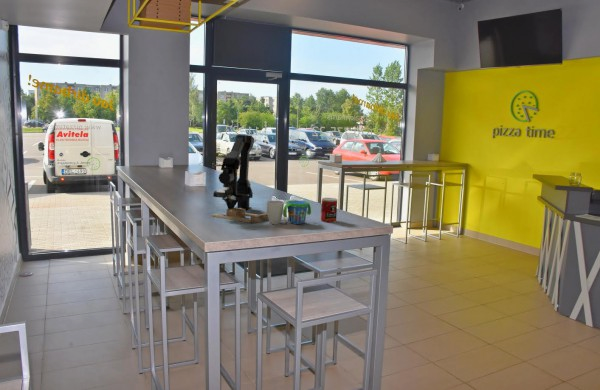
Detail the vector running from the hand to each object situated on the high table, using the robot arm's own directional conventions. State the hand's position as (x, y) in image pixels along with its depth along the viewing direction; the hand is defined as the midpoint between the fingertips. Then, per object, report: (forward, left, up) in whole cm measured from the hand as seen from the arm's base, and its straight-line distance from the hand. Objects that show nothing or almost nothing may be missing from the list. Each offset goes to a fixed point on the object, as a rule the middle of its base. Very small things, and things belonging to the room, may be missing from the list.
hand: (230, 212), depth 243 cm
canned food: (-23, +43, -2) cm, 49 cm away
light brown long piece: (0, +6, -2) cm, 6 cm away
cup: (-1, +26, -2) cm, 26 cm away
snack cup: (-8, +34, -2) cm, 35 cm away
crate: (+1, +5, -2) cm, 5 cm away
